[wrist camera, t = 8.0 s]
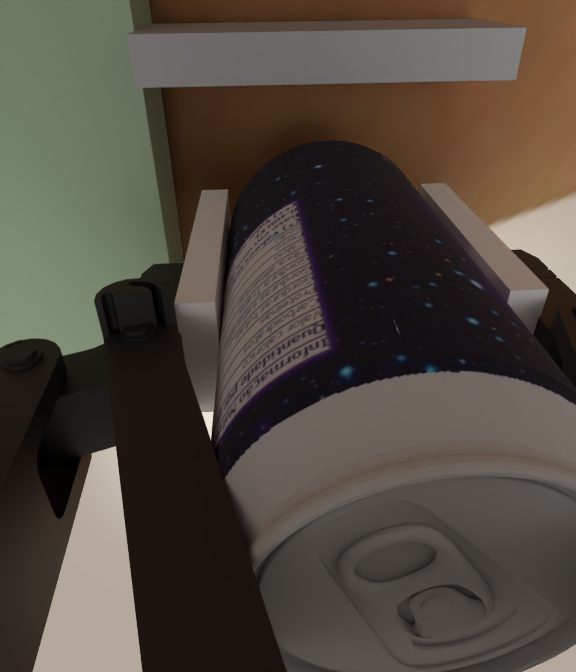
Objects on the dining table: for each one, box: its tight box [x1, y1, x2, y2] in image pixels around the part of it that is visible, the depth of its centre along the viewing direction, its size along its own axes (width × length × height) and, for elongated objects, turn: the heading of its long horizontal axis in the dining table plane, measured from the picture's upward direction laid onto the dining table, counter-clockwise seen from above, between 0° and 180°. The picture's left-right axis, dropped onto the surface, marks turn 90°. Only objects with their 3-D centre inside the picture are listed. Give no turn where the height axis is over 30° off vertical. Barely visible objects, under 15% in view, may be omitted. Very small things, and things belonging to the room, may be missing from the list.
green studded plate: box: [0, 0, 527, 356], centre depth 17 cm, size 16×22×4 cm
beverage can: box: [211, 141, 576, 672], centre depth 11 cm, size 6×6×12 cm
